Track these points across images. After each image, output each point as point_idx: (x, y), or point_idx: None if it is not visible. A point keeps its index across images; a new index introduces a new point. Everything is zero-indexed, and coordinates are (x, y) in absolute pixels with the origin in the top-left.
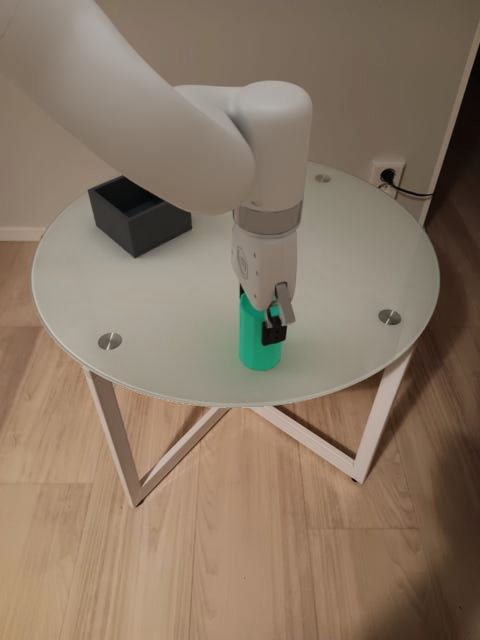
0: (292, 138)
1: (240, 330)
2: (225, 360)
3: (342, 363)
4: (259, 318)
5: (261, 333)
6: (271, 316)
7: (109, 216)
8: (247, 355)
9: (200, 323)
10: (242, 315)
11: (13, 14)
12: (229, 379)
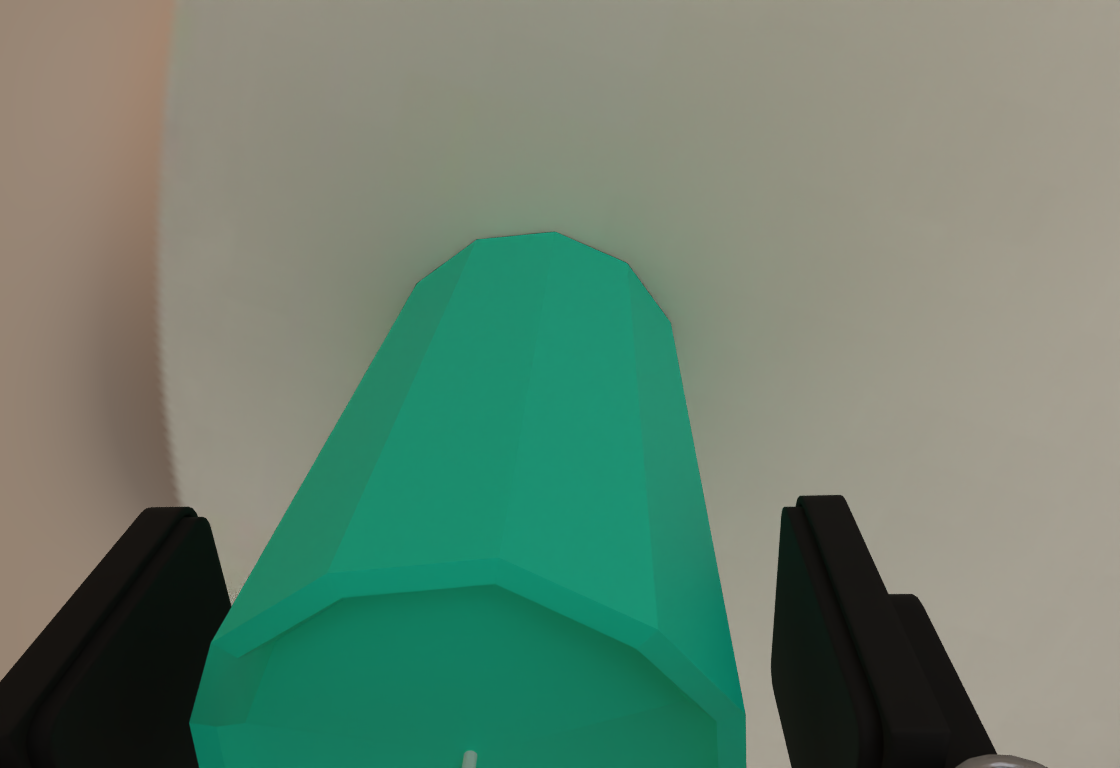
0: None
1: (507, 354)
2: (547, 122)
3: None
4: (211, 684)
5: (115, 592)
6: None
7: None
8: (430, 300)
9: (1004, 22)
10: (407, 500)
11: None
12: (366, 101)
